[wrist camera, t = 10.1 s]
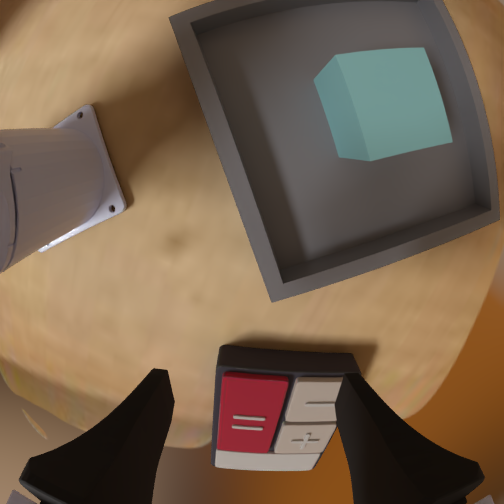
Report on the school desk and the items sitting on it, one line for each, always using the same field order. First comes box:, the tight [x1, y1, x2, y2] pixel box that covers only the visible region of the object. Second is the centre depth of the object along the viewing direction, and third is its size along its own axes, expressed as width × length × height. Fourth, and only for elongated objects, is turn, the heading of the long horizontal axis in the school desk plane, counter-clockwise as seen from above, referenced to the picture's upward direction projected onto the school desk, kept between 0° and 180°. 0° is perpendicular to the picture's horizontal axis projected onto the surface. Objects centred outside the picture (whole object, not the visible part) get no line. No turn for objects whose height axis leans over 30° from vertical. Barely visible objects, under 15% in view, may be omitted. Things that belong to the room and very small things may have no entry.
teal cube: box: [314, 48, 453, 161], centre depth 13 cm, size 5×5×5 cm
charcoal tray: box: [169, 0, 500, 302], centre depth 14 cm, size 18×18×2 cm
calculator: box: [211, 345, 361, 471], centre depth 23 cm, size 11×4×15 cm
